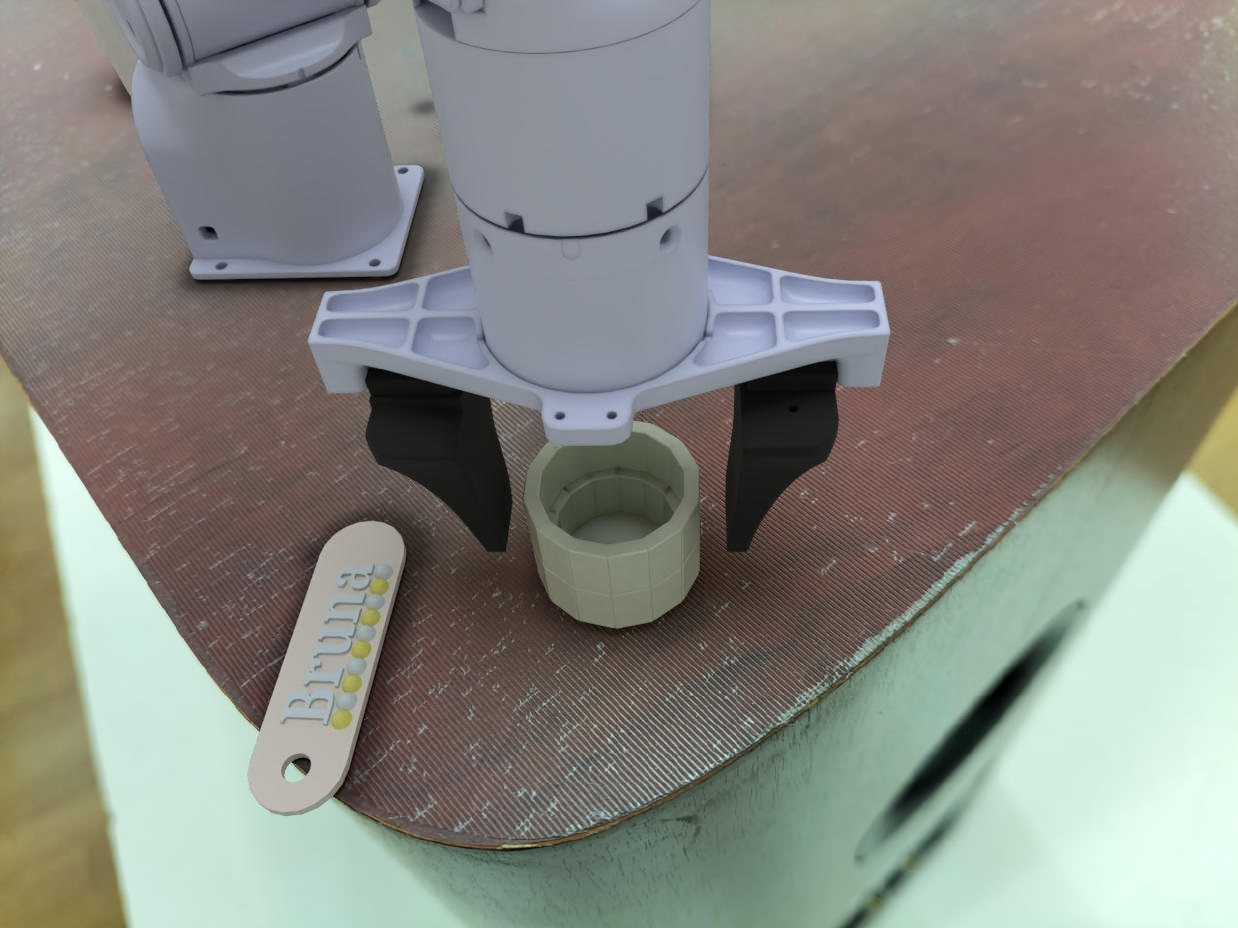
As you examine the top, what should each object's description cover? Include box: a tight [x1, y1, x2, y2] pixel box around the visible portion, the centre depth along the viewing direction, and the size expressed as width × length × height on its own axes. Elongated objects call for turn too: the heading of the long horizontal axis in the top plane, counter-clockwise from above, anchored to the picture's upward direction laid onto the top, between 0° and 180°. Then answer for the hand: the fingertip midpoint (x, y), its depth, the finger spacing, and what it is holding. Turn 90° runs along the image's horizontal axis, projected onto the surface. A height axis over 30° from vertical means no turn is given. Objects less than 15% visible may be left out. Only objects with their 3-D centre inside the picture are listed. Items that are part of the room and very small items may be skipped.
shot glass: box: [74, 0, 139, 97], centre depth 55 cm, size 7×7×7 cm
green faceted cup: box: [522, 419, 701, 630], centre depth 33 cm, size 5×6×4 cm
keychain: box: [246, 520, 407, 817], centre depth 32 cm, size 10×1×3 cm
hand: (616, 527), depth 33 cm, fingers open, 7 cm apart
